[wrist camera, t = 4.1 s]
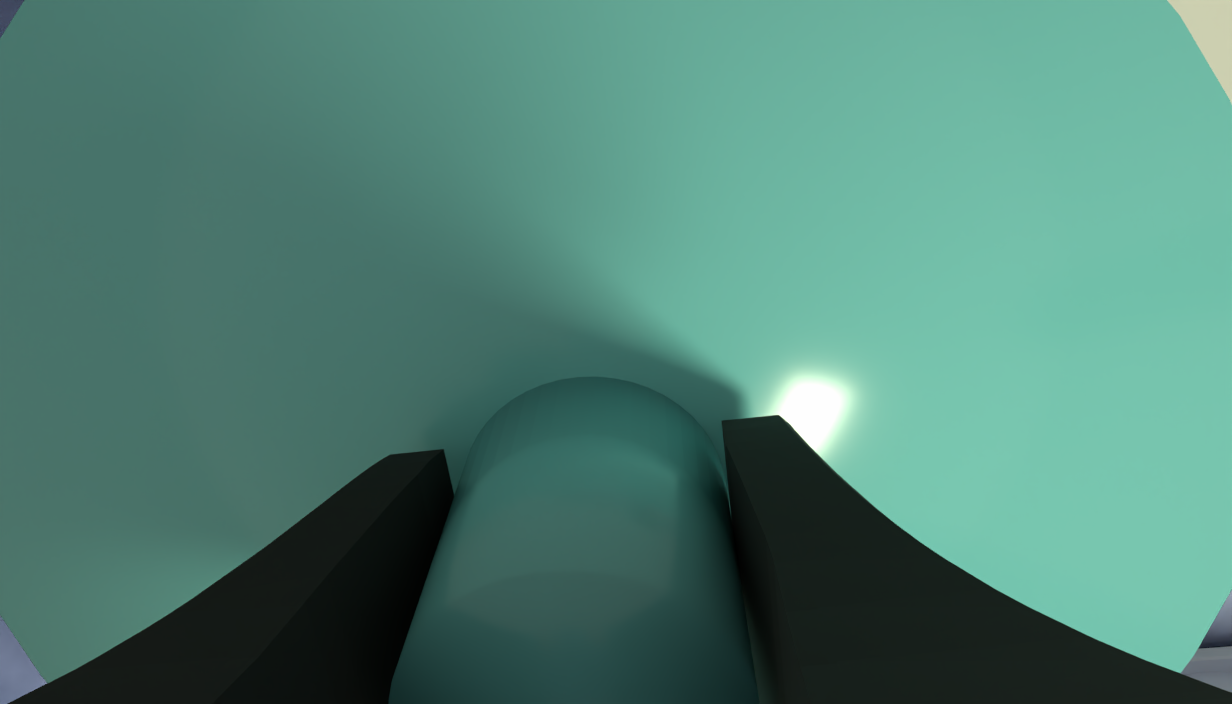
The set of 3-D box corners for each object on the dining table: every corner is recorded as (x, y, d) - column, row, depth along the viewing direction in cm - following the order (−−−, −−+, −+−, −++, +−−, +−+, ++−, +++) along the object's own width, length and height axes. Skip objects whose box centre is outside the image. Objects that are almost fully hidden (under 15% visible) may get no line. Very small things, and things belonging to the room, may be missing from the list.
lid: (1356, -367, 8) (1986, -638, 4) (1167, 869, 14) (1371, 1227, 10) (-265, -153, 9) (-920, -218, 5) (174, 923, 15) (8, 1270, 11)
